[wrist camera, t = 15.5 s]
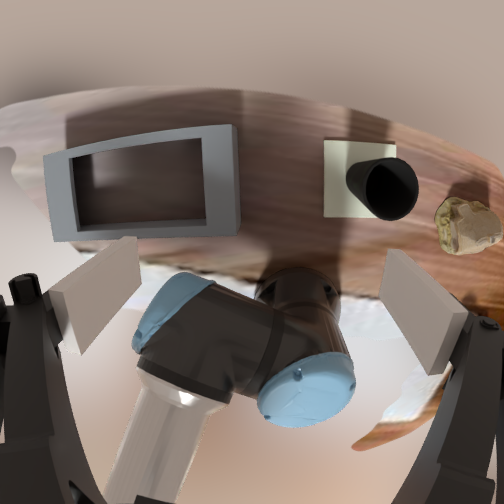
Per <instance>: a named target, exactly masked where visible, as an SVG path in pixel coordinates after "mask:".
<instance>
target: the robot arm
mask: <svg viewBox="0 0 504 504" xmlns="http://www.w3.org/2000/svg"><path fill="white" fill-rule="evenodd" d="M8 284H9V288H10V291H11V295H12V298H13V301H14V306H6V305H5V302H4V299H3V296H2V295H0V432H1V427H2V423H3V418H4V435H5V443H1V444H0V504H175V503H176V501H177V498H178V496H179V493H180V491H181V488H182V486H183V484H184V481H185V479H186V476H187V474H188V471H189V469H190V466H191V464H192V461H193V459H194V456H195V454H196V451H197V448H198V446H199V444H200V441H201V439H202V436H203V433H204V431H205V428H206V426H207V423H208V421H209V418H210V416H211V415H212V414H213V413H214V412H216V411H218V410H221V409H223V408H226V407H228V405H229V403H230V400H231V398H232V395H233V393H234V392H235V393H238V394H241V395H244V396H247V397H250V398H253V399H256V400H257V406H258V409H259V410H260V412H261V414H262V415H264V418H265V419H266V420H267V421H269V422H270V423H273V424H275V425H278V426H283V427H293V428H295V427H305V426H310V425H314V424H316V423H319V422H322V421H325V420H327V419H329V418H331V417H333V416H334V415H336V414H337V413H339V412H340V411H341V410H342V409H343V408H344V407H345V406H346V405H347V404H348V403H349V401H350V399H351V398H352V396H353V394H354V391H355V386H356V380H355V375H354V371H353V370H354V366H353V361H352V359H351V358H350V355H349V352H348V350H347V347H346V344H345V341H344V339H343V336H342V333H341V331H340V328H339V326H338V323H339V318H340V313H341V303H340V298H339V295H338V293H337V291H336V288H335V286H334V285H333V283H332V282H331V281H330V280H329V279H328V278H327V277H326V276H325V275H323V274H322V273H320V272H318V271H316V270H313V269H309V268H302V267H295V268H288V269H284V270H281V271H279V272H277V273H275V274H273V275H272V276H270V277H269V278H268V279H266V280H265V281H264V282H263V283H262V285H261V286H260V287H259V289H258V291H257V293H256V295H255V299H252V298H249V297H247V296H244V295H242V294H240V293H237V292H235V291H233V290H230V289H228V288H226V287H224V286H221V285H219V284H217V283H216V282H215V281H213V280H207V279H204V278H202V277H199V276H196V275H194V274H191V273H188V272H181V273H178V274H176V275H174V276H173V277H171V278H170V279H169V280H168V281H167V282H166V283H165V284H164V285H163V286H162V288H161V289H160V290H159V291H158V293H157V294H156V296H155V297H154V298H153V300H152V301H151V303H150V304H149V306H148V308H147V309H146V311H145V313H144V315H143V316H142V318H141V320H140V322H139V325H138V329H137V330H136V332H135V334H134V336H133V339H132V348H133V349H134V350H135V352H136V353H137V354H141V356H140V359H139V361H138V364H137V367H136V370H137V373H138V375H139V378H140V380H141V382H142V388H141V391H140V393H139V396H138V399H137V401H136V404H135V406H134V409H133V412H132V414H131V417H130V419H129V422H128V425H127V427H126V430H125V432H124V435H123V438H122V441H121V444H120V446H119V449H118V452H117V454H116V458H115V460H114V463H113V466H112V469H111V472H110V475H109V478H108V481H107V483H106V487H105V490H104V493H103V496H102V495H101V493H100V491H99V490H98V487H97V485H96V483H95V480H94V478H93V475H92V473H91V470H90V467H89V464H88V462H87V459H86V456H85V453H84V450H83V447H82V444H81V441H80V437H79V434H78V431H77V428H76V424H75V420H74V417H73V412H72V409H71V404H70V401H69V396H68V391H67V386H66V382H65V376H64V371H63V365H62V360H61V352H60V350H59V347H58V344H59V343H60V342H61V341H62V340H63V342H64V345H65V347H66V350H67V352H70V353H73V354H77V355H82V354H83V353H84V352H85V351H86V349H87V348H88V347H89V345H90V344H91V343H92V342H93V341H94V340H95V338H96V337H97V336H98V335H99V333H100V332H101V331H102V330H103V329H104V327H105V326H106V325H107V324H108V323H109V321H110V320H111V319H112V318H113V317H114V315H115V314H116V313H117V312H118V311H119V310H120V308H121V307H122V306H123V305H124V304H125V303H126V301H127V300H128V299H129V298H130V297H131V296H132V295H133V293H134V292H135V291H136V290H137V289H138V288H139V287H140V285H141V284H142V282H141V274H140V265H139V256H138V245H137V237H136V236H124V237H122V238H121V239H119V240H118V241H116V242H115V243H113V244H112V245H110V246H109V247H107V248H106V249H104V250H103V251H101V252H100V253H98V254H97V255H95V256H94V257H92V258H91V259H90V260H88V261H87V262H85V263H84V264H83V265H81V266H80V267H78V268H77V269H75V270H74V271H73V272H71V273H70V274H69V275H67V276H66V277H64V278H63V279H62V280H60V281H59V282H58V283H57V284H55V285H54V286H52V287H51V288H50V289H49V290H48V291H46V292H45V293H43V294H42V293H41V289H40V285H39V281H38V277H37V275H36V274H34V273H28V274H22V275H19V276H17V277H15V278H13V279H12V280H10V282H9V283H8ZM379 298H380V299H381V301H382V302H383V304H384V305H385V307H386V308H387V310H388V311H389V313H390V314H391V316H392V318H393V319H394V321H395V322H396V324H397V325H398V327H399V328H400V330H401V332H402V333H403V335H404V336H405V338H406V340H407V341H408V343H409V345H410V346H411V348H412V349H413V351H414V353H415V354H416V356H417V358H418V359H419V361H420V363H421V365H422V366H423V368H424V370H425V371H426V373H427V375H428V376H429V375H436V374H442V373H443V372H444V370H445V368H446V366H447V364H448V362H449V361H450V362H451V364H452V365H453V369H452V371H451V373H450V375H449V377H448V379H447V380H446V382H445V384H444V386H443V388H442V389H444V393H443V396H442V399H441V402H440V405H439V407H438V410H437V413H436V415H435V418H434V420H433V423H432V425H431V428H430V430H429V432H428V435H427V437H426V439H425V441H424V444H423V446H422V448H421V450H420V452H419V454H418V456H417V459H416V461H415V463H414V464H413V466H412V468H411V470H410V472H409V474H408V476H407V478H406V479H405V481H404V483H403V485H402V487H401V488H400V490H399V492H398V493H397V495H396V497H395V498H394V500H393V502H392V503H391V504H491V501H492V498H493V494H494V490H495V482H494V480H492V479H489V478H486V476H487V471H488V467H489V463H490V458H491V454H492V449H493V444H494V439H495V434H496V449H497V491H496V504H504V331H502V329H501V326H500V325H499V324H498V323H497V322H496V321H494V320H493V319H491V318H489V317H485V316H477V317H475V316H474V315H473V314H472V313H471V312H470V311H469V310H468V309H467V308H466V307H465V306H464V305H463V304H462V303H461V302H460V301H458V299H457V298H456V297H455V296H454V295H453V294H451V293H449V292H448V291H447V290H446V289H445V288H443V287H442V286H441V285H440V284H439V283H438V282H437V281H436V280H435V279H434V278H433V277H431V276H430V275H429V274H428V273H427V272H426V271H425V270H424V269H423V268H421V267H420V266H419V265H418V264H417V263H416V262H415V261H413V260H412V259H411V258H410V257H409V256H408V255H406V254H405V253H404V252H403V251H402V250H400V249H388V252H387V257H386V263H385V268H384V273H383V278H382V283H381V287H380V292H379Z"/></svg>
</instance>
